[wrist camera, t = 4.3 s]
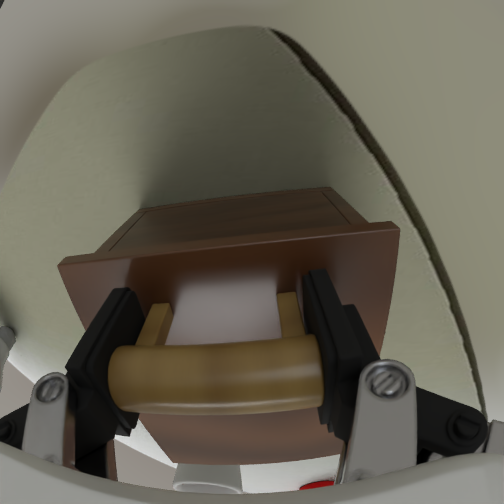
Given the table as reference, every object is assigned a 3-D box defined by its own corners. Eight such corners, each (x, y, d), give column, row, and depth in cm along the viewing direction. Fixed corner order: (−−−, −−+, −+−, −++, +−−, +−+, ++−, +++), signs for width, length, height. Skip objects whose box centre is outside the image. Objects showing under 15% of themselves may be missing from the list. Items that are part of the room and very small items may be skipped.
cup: (253, 456, 34) (253, 504, 27) (199, 458, 35) (195, 504, 28) (234, 422, 30) (232, 482, 22) (170, 424, 30) (160, 480, 23)
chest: (138, 209, 19) (73, 274, 11) (330, 186, 18) (389, 242, 10) (188, 372, 26) (174, 454, 18) (326, 360, 25) (347, 442, 17)
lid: (65, 256, 10) (-9, 334, 6) (391, 220, 10) (476, 299, 5) (174, 454, 18) (165, 512, 13) (347, 443, 17) (360, 503, 12)
